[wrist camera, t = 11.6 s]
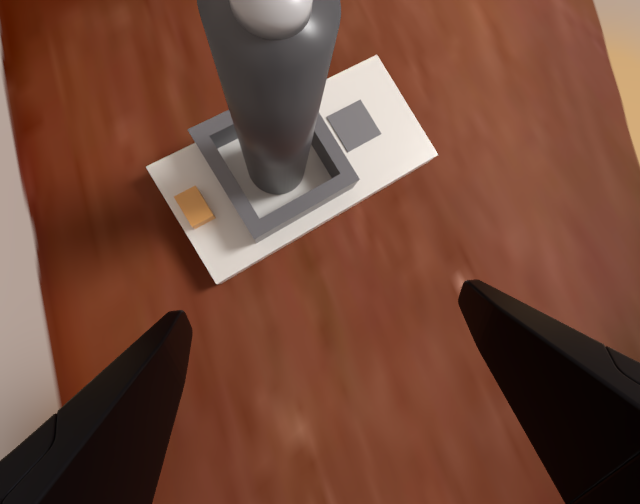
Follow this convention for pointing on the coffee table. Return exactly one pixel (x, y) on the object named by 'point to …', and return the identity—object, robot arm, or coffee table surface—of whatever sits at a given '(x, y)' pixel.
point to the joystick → (272, 78)
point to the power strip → (318, 181)
